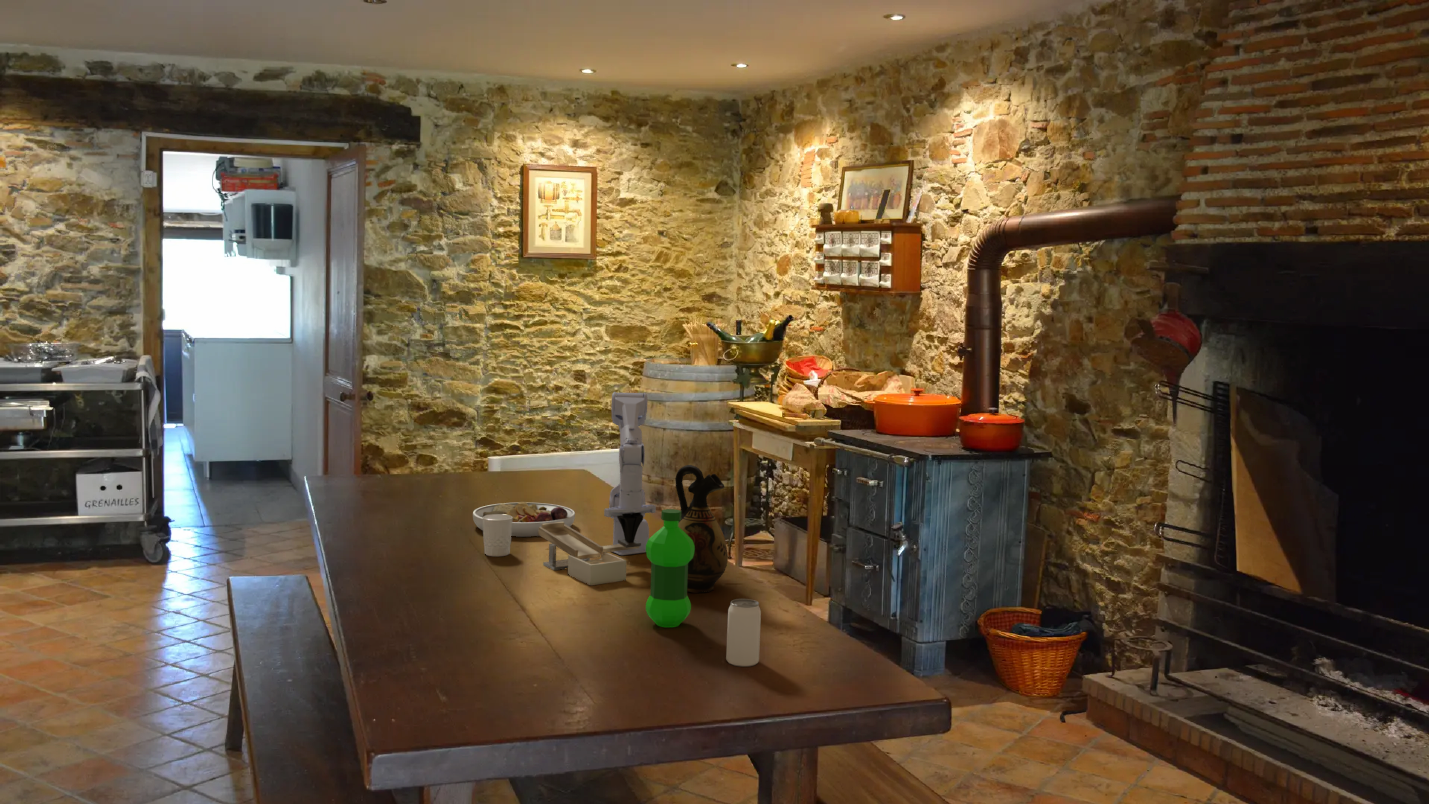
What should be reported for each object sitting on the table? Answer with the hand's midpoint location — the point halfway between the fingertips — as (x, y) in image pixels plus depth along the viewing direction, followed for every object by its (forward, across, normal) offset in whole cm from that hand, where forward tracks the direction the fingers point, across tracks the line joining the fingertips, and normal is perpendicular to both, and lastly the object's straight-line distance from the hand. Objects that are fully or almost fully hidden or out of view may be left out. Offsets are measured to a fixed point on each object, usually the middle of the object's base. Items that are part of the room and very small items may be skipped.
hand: (629, 542), depth 291 cm
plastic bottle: (+8, -18, -46) cm, 50 cm away
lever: (+2, -7, +9) cm, 11 cm away
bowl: (+6, -2, +55) cm, 56 cm away
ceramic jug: (+7, +4, -24) cm, 25 cm away
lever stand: (+7, -12, +9) cm, 17 cm away
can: (+8, -19, -74) cm, 77 cm away
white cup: (+7, -23, +29) cm, 38 cm away
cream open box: (+7, -12, -5) cm, 15 cm away
